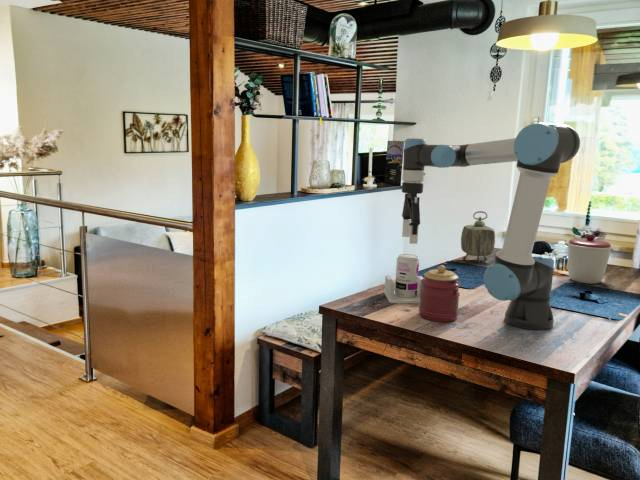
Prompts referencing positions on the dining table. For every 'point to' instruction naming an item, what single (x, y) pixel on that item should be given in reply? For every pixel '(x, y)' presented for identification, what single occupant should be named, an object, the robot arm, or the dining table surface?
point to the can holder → (394, 298)
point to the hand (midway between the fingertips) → (409, 240)
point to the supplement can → (407, 275)
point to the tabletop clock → (478, 239)
